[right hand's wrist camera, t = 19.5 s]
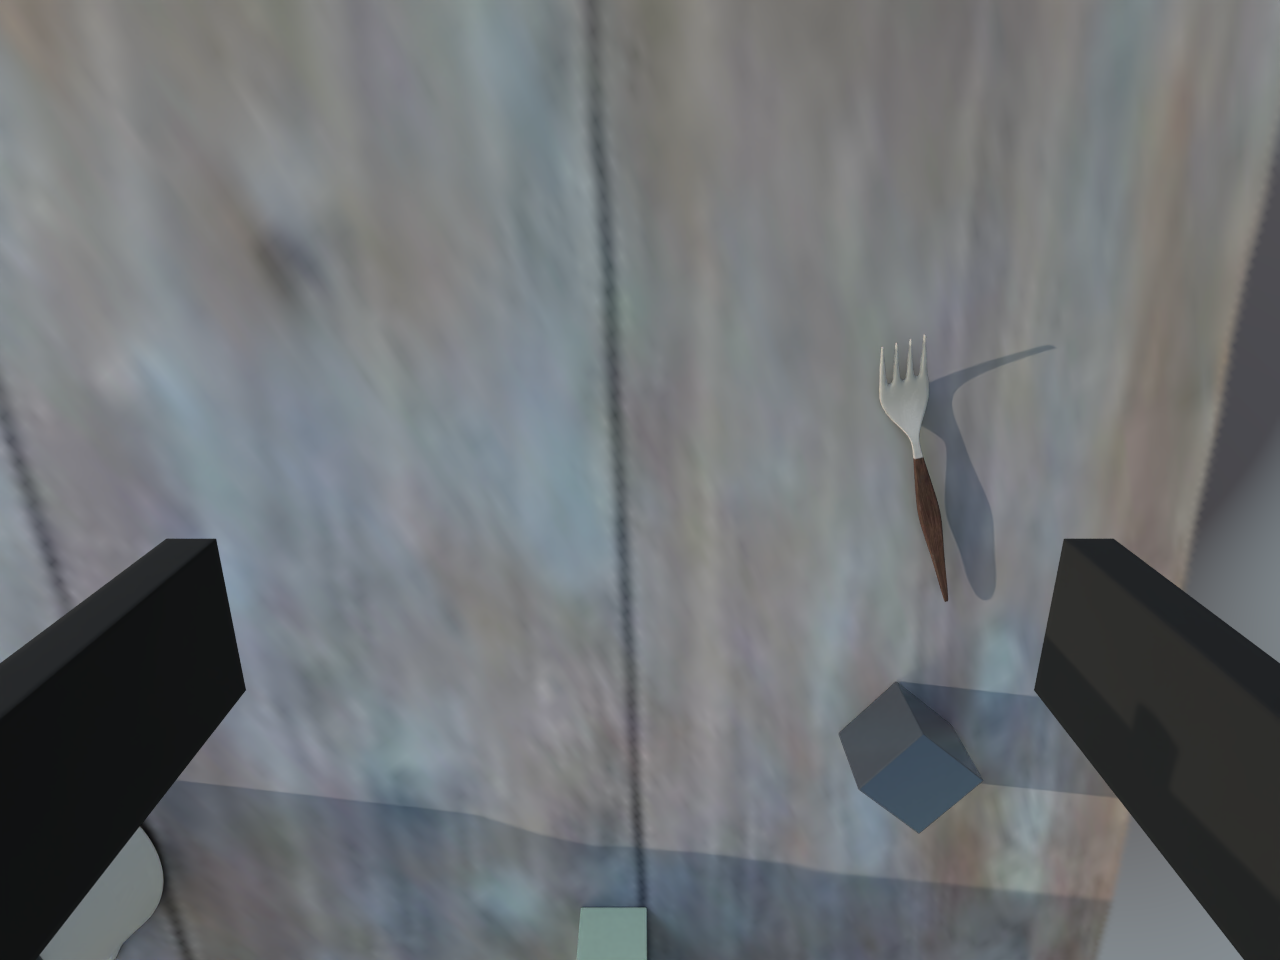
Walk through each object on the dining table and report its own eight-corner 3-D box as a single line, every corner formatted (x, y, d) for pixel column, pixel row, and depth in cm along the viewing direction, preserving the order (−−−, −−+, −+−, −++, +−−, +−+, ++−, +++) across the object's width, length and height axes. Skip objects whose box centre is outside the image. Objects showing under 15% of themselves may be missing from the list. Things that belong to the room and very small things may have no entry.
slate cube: (896, 680, 49) (923, 733, 44) (952, 724, 50) (984, 780, 46) (837, 733, 50) (858, 789, 46) (893, 775, 52) (918, 834, 47)
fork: (920, 602, 47) (932, 620, 45) (867, 341, 42) (877, 348, 40) (965, 591, 47) (978, 608, 45) (917, 326, 42) (930, 333, 40)
